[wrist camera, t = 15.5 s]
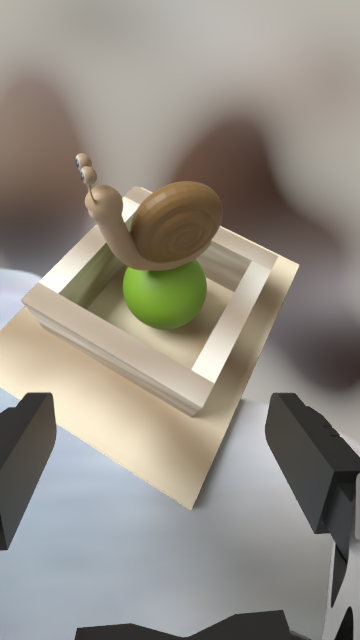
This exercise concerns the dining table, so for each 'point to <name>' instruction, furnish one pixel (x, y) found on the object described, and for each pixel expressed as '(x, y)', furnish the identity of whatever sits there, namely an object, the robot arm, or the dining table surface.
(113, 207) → the snail figurine
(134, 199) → the wooden box tray
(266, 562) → the dining table surface
